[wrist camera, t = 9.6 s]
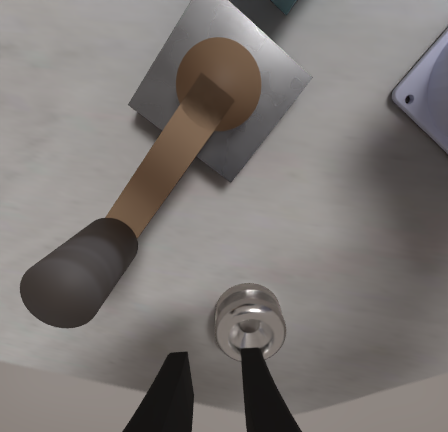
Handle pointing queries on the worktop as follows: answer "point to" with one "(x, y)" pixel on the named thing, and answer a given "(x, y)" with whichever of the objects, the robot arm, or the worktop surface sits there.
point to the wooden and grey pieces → (269, 70)
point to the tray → (284, 5)
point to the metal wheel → (249, 321)
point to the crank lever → (145, 186)
